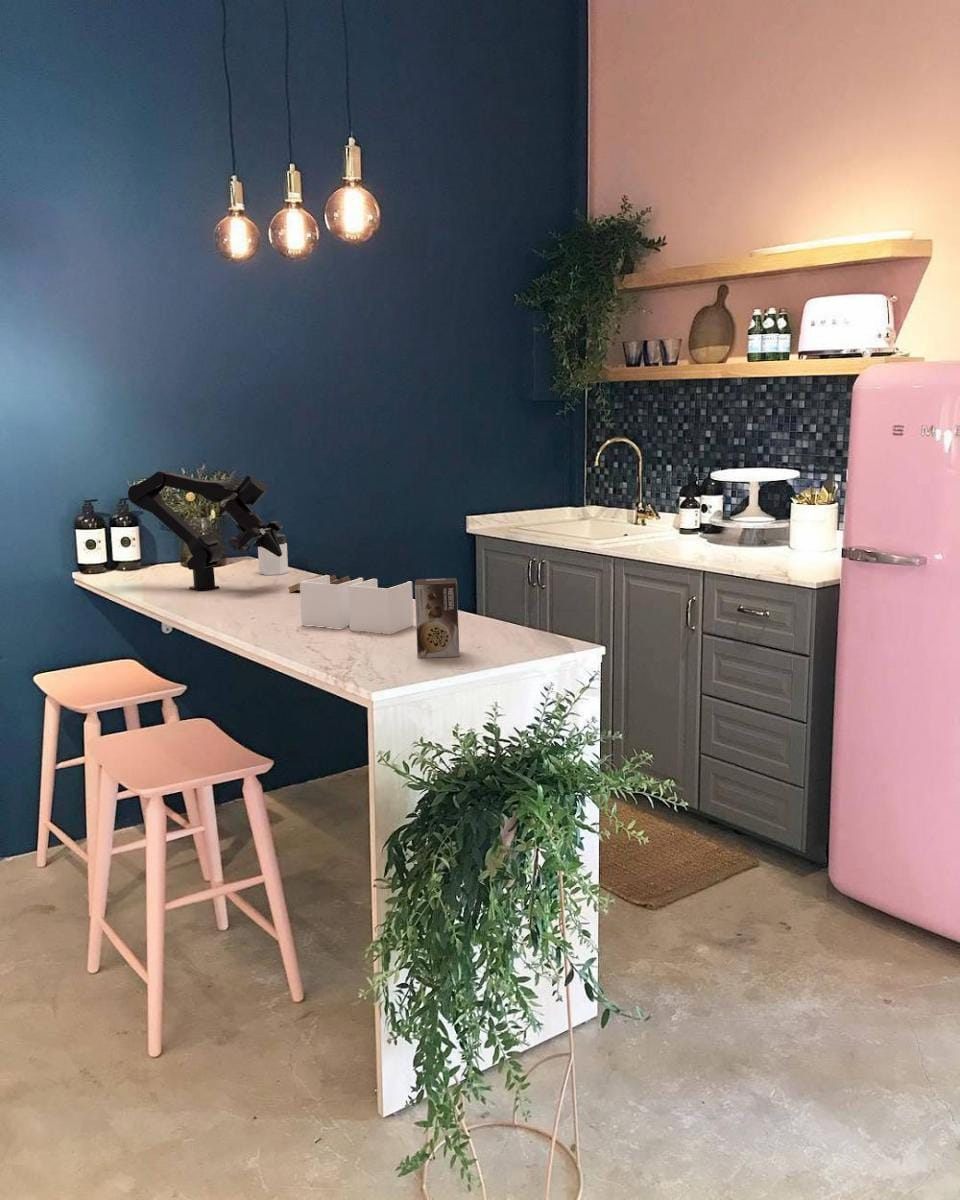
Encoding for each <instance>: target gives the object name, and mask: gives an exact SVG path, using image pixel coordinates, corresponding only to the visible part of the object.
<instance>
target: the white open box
mask: <svg viewBox="0 0 960 1200" xmlns="http://www.w3.org/2000/svg"><path fill="white" fill-rule="evenodd" d="M330 576H331V575H328V574H325V575H321V577H317V578H314V579H310V578H309V579H310V580H308V579H306V581H305V580H302V581H300V582H299V583H300V589H299V593H300V595H299V596H300V615H301V616H300V617H301V618H300V619H301V625H302V624H303V625H313V626H323V627H332V628H342V627H345V628H347V627H346V626H348V625H350V626H348V627H349V631H350V630H356V631H355V632H360V631H366V632H365V633H370V632H374V633H373V634H380V633H383V635H391V634H394V633H397V632H400V631H402V630H405V629H408V628H410V627H413V626H414V605H413V603H414V602H413V600H414V599H413V581H408V580H407V582H404V583H401V584H398V585H395V586H392V587H391V586H390V587H388V588H384V587H378V578H371V579H368V580H365V581H364V582H363V579H364V577H357V578H355V579H353V580H351V581H348V582H345V583H341V584H338V585H335V584H330ZM342 629H343V628H342Z"/></svg>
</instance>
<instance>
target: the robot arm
mask: <svg viewBox="0 0 960 1200" xmlns="http://www.w3.org/2000/svg"><path fill="white" fill-rule="evenodd" d="M166 487H169V488H174V489H177V490H182V491H186V492H188V493H189V492H190V493H194V494H198V495H200V496H201V497H203V498H204V499H206V500H207V501H208V500H209V501H210V502H213V503H217V504H218V503H222V502H226V503H225V504H223V505H219V506H218V508H219V509H218V510H219V511H218V516H220V517H221V516H226V515H228V516H229V517H230V518H231V519H232V520H233V521H234V522H235V523H236V524H237V525H236V530H237V531H238V533H237V535H235V537H231V538H229V540H228V544H229V546H230V547H231V549H232V550H233V551H234V552H236V551H238V553H239V552H240V553H242V554H244V553H247V552H249V551H250V550H251V544H252V542H253V541H254V544H253V546H252V547H253V548H258V547H263V548H265V549H266V550H268V551H270V552H271V553H273V554H275V555H276V556H278V557H280V556H281V555H282V551H281V548H280V545H279V542H278V539H277V535H276V534H279V532H280V531H281V530H282V529H283V527H284V525H283V524H282V523H281V522H280V521H276V520H275V521H270V522H269V523H268V522H267V521H263V520H262V519H261V518H260V517H259V516H258V514H259V512H258V511H257V510H255V511H253V510H252V509H251V507H249V506H250V505H252V506H255V505H256V504H257V503H258V501H259V500H260V499H261V498H262V497H263V496H264V494H266V492H267V491H268V488H267V485H265V483H264V482H263V481H260V480H259V479H258V478H256V477H254V476H253V475H252V474H248V475H246V476H245V477H244V479H243V481H242V482H240V484H239V485H233V484H232V483H231V482H230V481H227V480H217V479H215V480H213V479H212V480H210V479H209V480H208V479H207V480H206V479H205V480H204V479H200V478H196V477H192V476H189V475H188V476H187V475H183V474H180V473H175V472H170V471H169V470H158V471H156V472H155V473H154V474H153V475H151V476H150V477H148V478H146V479H145V480H143V481H140V483H138V484H133V485H131V486H130V487H129V488H128V491H127V496H128V497H127V498H128V501H130V503H132V504H133V505H135V506H136V507H138V508H139V509H142V510H144V511H146V512H149V513H151V514H152V515H153V516H154V517H156V518H157V520H159V521H160V522H161V523H162V524H163V525H165V526H166V527H167V528H168V530H170V531H171V532H172V533H173V534H175V536H177V538H179V539H180V540H181V541H183V543H184V544H186V545H187V548H188V551H189V553H190V554H191V557H190V558H189V559H188V560H187V561H186V565H187V569H188V570H190V571H192V577H193V579H192V581H193V586H189V590H196V591H200V592H201V591H209V590H213V589H214V590H215V589H219V588H220V586H219V585H216V581H215V569H214V567H217V566H218V564H219V560H220V559H221V558H222V555H223V548H222V546H221V545H220V541H219V540H217V539H215V538H214V536H213V535H212V534H210V533H209V532H208V533H205V534H201V533H199V532H198V531H197V530H195V529H194V528H193V527H192V526H191V525H190V524H189V523H188V522H187V521H185V520H184V519H183V518H182V517H181V515H179V514H178V513H176V512H175V511H174V510H173V509H172V508H171V507H170V506H169V505H167V504H166V503H165V501H164V500H163V497H162V494H161V492H162V491H163V490H164V489H165V488H166ZM233 496H235V497H233Z"/></svg>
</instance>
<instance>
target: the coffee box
mask: <svg viewBox="0 0 960 1200" xmlns="http://www.w3.org/2000/svg"><path fill="white" fill-rule="evenodd" d="M414 595H415V597H414V598H415V599H414V600H415V621H416V624H415V625H416V627H415V628H416V650H417V654H416V657H417V659H423V658H424V659H425V658H426V659H427V658H428V659H429V658H455V657H457V658H458V657H460V637H459V634H460V633H459V629H460V628H459V605H458V602H459V601H458V582H457V578H456V577H454V578H453V577H452V578H448V577H447V578H444V577H443V578H419V579H415V581H414Z"/></svg>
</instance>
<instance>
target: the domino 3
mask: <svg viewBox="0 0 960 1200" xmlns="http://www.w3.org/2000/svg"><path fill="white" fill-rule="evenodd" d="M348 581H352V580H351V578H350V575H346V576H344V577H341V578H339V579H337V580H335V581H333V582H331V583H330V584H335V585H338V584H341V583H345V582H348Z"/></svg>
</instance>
